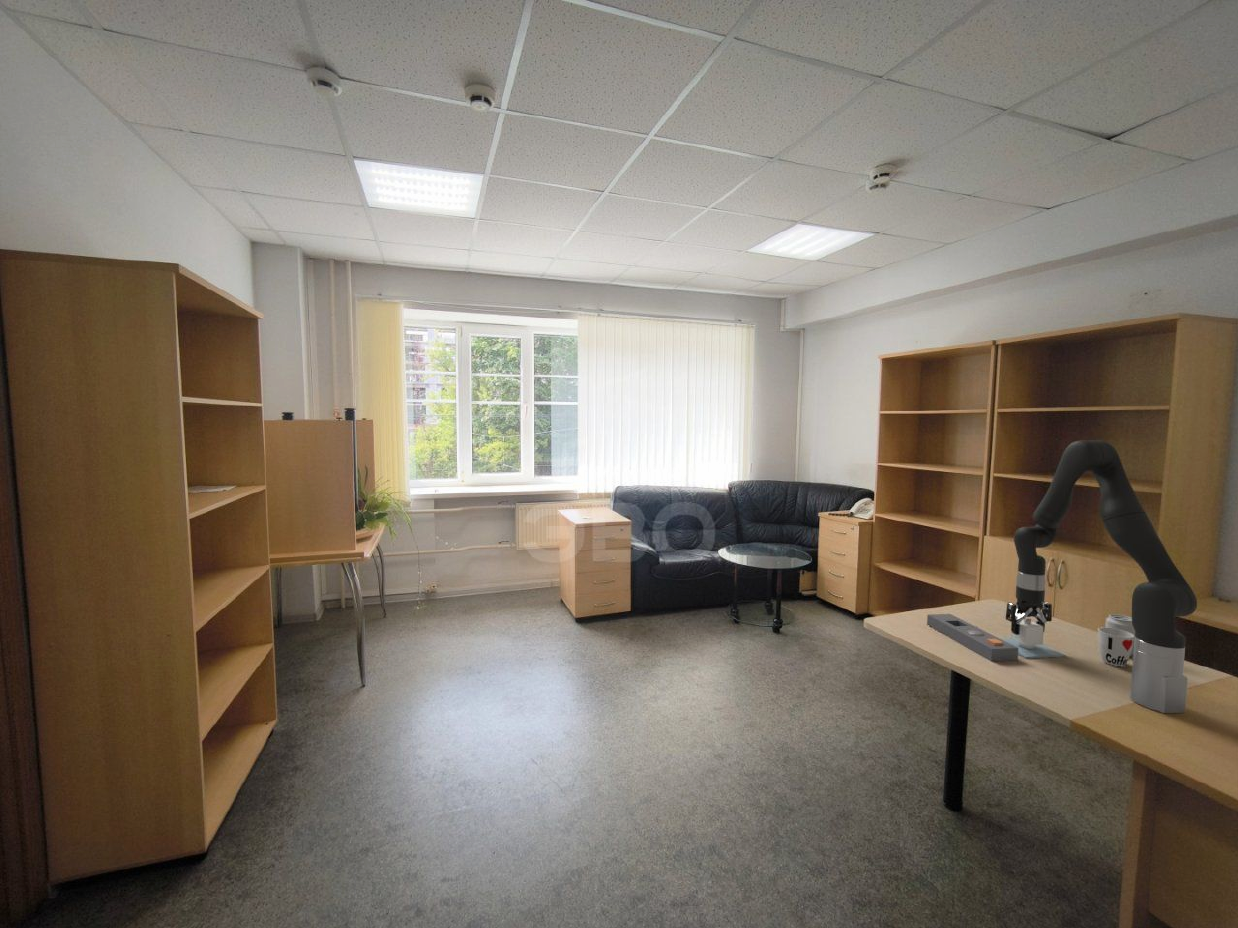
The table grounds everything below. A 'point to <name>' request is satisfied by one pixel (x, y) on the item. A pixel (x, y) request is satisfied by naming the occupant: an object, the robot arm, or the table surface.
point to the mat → (1034, 650)
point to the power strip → (973, 637)
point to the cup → (1115, 645)
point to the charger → (1029, 634)
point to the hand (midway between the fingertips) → (1027, 633)
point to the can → (1121, 625)
